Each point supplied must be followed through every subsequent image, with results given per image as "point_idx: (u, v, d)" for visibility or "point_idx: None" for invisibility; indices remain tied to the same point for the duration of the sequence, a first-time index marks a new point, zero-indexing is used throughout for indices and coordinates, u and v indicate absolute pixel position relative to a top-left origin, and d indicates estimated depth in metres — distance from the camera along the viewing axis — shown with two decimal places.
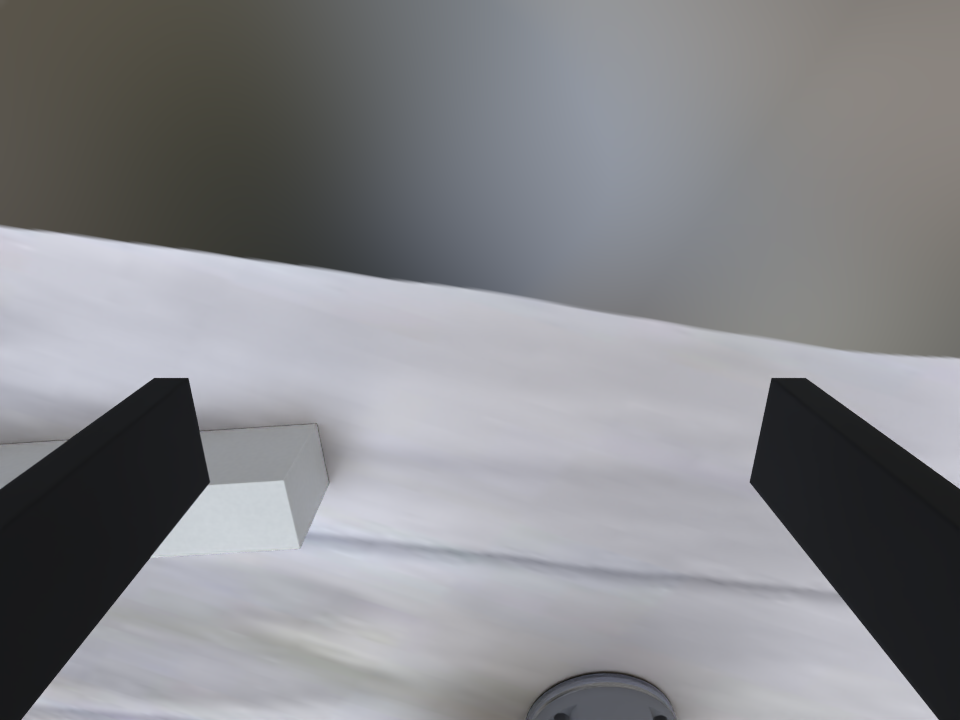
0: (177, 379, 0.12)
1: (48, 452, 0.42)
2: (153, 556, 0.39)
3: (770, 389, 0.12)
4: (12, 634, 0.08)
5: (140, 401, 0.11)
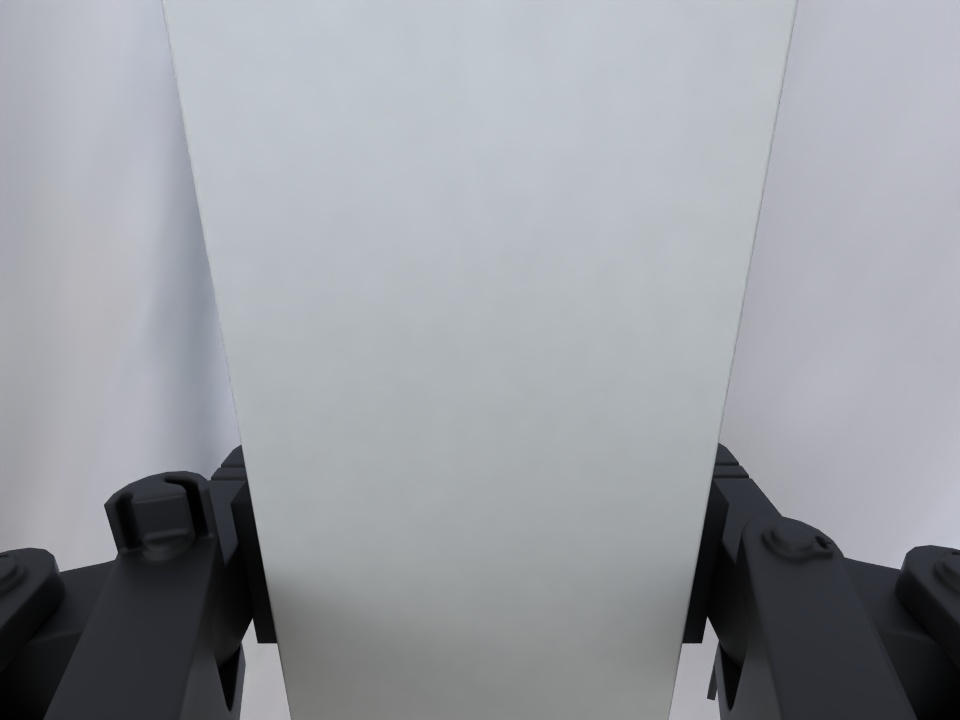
0: None
1: None
2: (228, 307, 0.06)
3: None
4: None
5: None
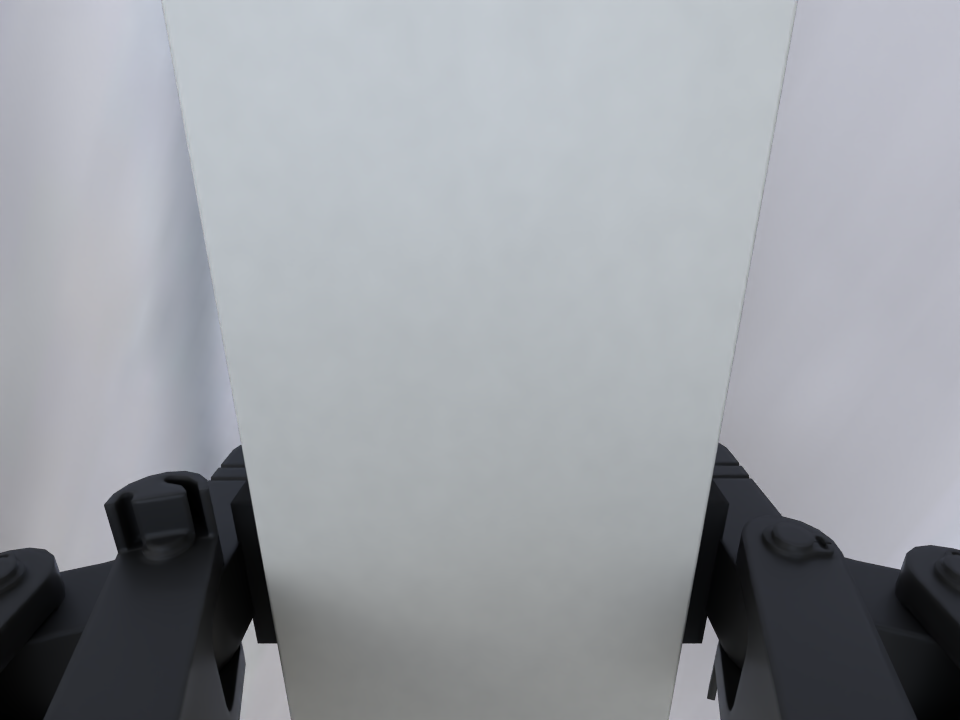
0: None
1: None
2: (228, 307, 0.06)
3: None
4: None
5: None
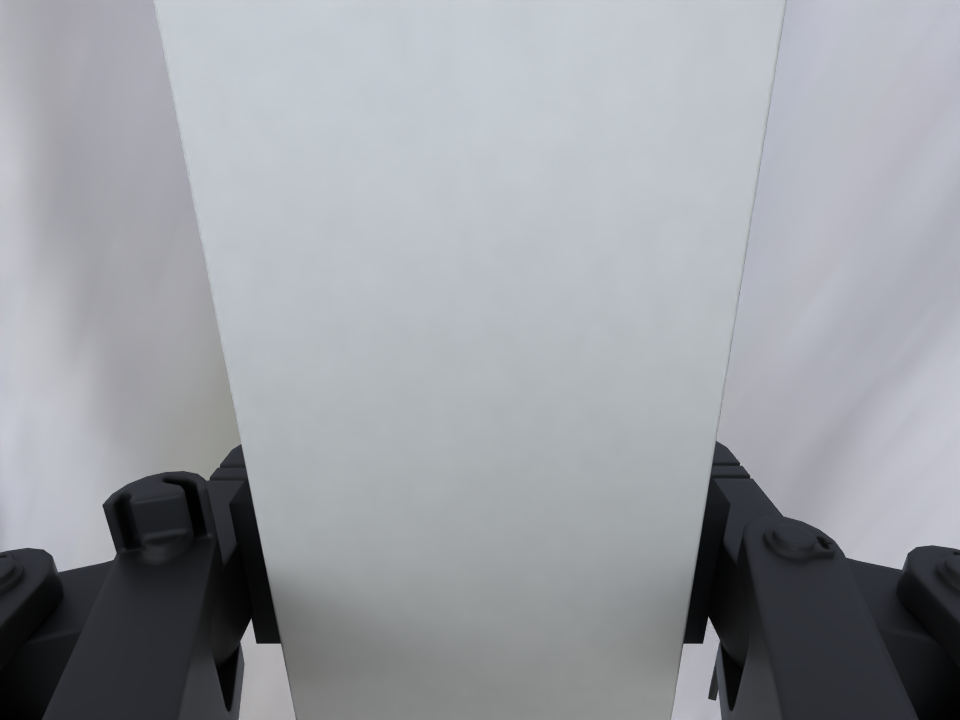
0: None
1: None
2: (225, 304, 0.06)
3: None
4: None
5: None
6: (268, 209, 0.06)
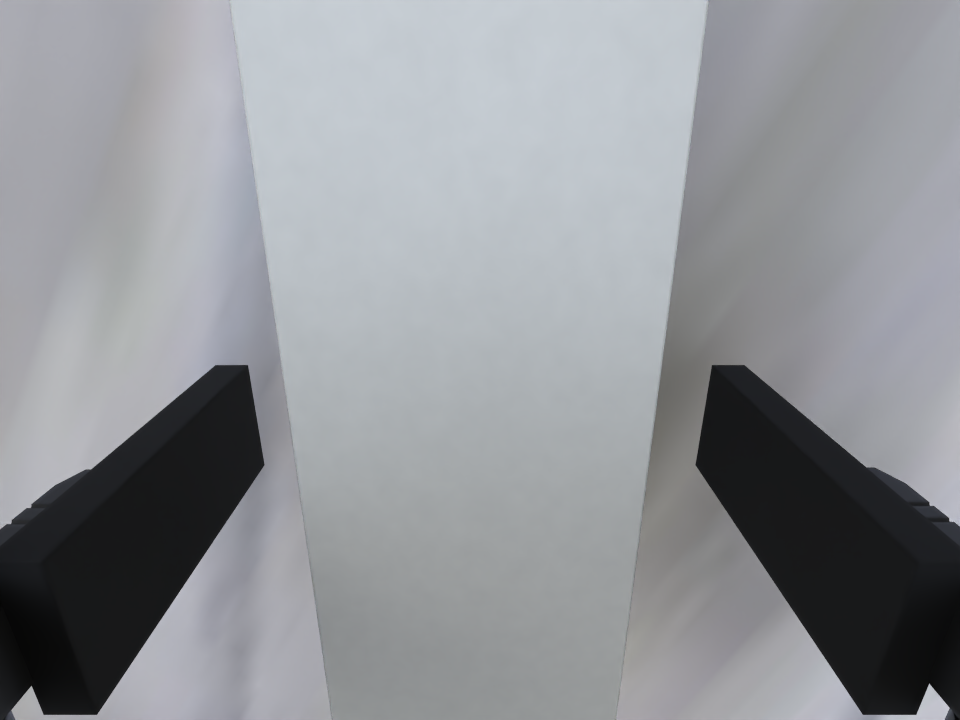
0: (237, 366, 0.13)
1: None
2: (276, 266, 0.08)
3: (711, 376, 0.13)
4: (119, 593, 0.08)
5: (208, 385, 0.12)
6: (312, 192, 0.07)
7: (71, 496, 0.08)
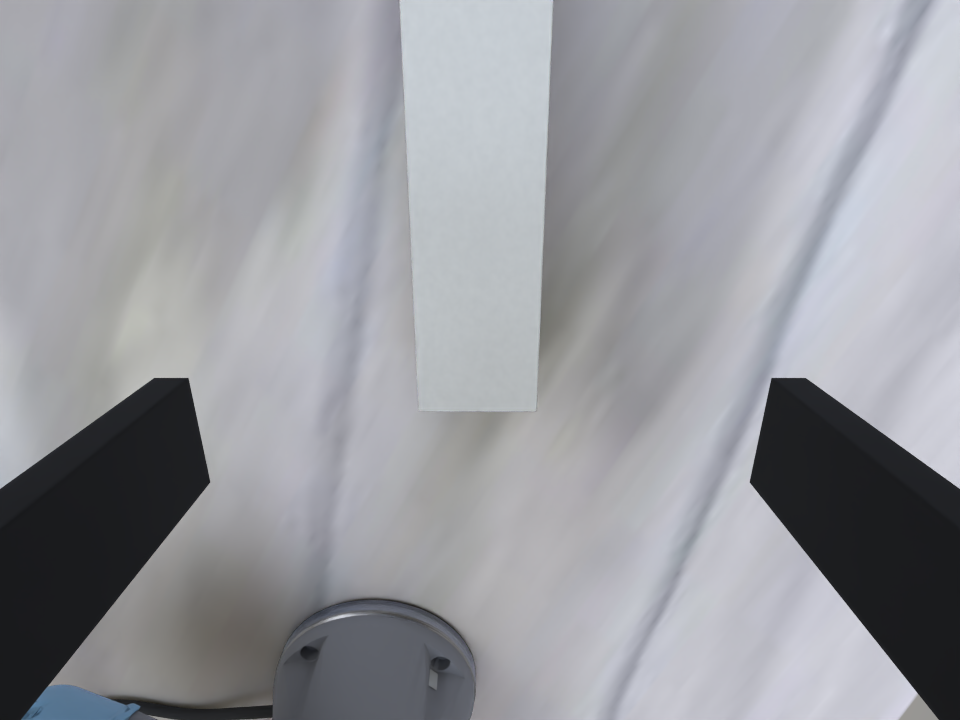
0: (177, 379, 0.12)
1: None
2: (411, 185, 0.23)
3: (770, 389, 0.12)
4: (12, 634, 0.08)
5: (140, 400, 0.11)
6: (425, 159, 0.22)
7: None
